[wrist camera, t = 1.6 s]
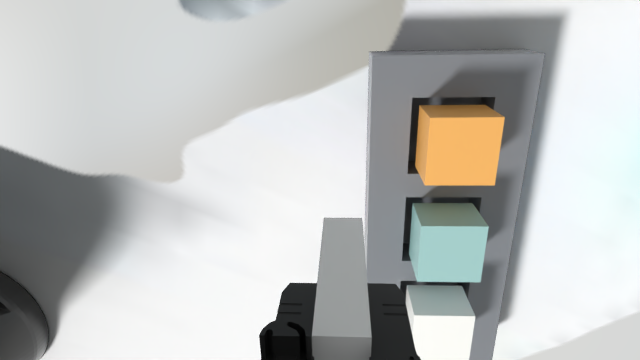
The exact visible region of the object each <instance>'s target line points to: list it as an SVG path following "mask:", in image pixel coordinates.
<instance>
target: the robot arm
mask: <svg viewBox="0 0 640 360" xmlns="http://www.w3.org/2000/svg"><path fill="white" fill-rule="evenodd" d="M259 337H260V348H261V360H421V359H420V357H419V356H418V355H417V353H416V350H415V346H414V341H413V336H412V331H411V327H410V322H409V317H408V312H407V307H406V302H405V297H404V293H403V292H402V291H401V290H400V289H399V287H398V286H397V285H396V284H383V283H367V274H366V261H365V249H364V236H363V224H362V218H324V222H323V232H322V242H321V252H320V261H319V271H318V281H317V283H290V284H289V285H288V286H287V287H286V288H285V289H284V291H283V292H282V295H281V299H280V305H279V308H278V314H277V317H276V321H273V322H271V323H269V324H268V325H267V326H265V327H264V328H263V329H262V331H261V333H260V335H259ZM47 344H48V327H47V323H46V320H45V317H44V315H43V313H42V311H41V309H40V308H39V306H38V304H37V303H36V302H35V300H34V299H33V298H32V297H31V296H30V294H29V293H28V292H27V291H26V290H25V289H24V288H22V287H21V286H20V285H19V284H18V283H16V282H15V281H14V280H12V279H11V278H9V277H8V276H6V275H4V274H3V273H1V272H0V360H40V359H41V357H42V356H43V354H44V353H45V350H46V348H47Z"/></svg>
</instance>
